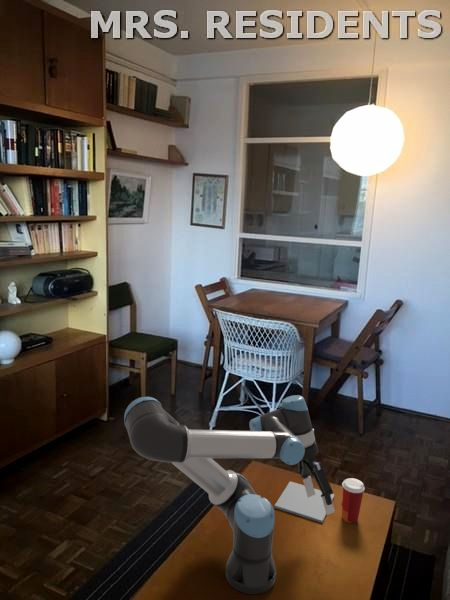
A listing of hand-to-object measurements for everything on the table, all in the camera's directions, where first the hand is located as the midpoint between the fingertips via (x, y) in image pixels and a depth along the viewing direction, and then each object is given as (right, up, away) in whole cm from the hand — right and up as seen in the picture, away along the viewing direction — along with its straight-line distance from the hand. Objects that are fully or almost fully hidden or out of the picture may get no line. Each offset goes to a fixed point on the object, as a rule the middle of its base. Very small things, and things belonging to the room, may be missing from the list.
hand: (320, 503), depth 160 cm
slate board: (-1, -10, +25) cm, 27 cm away
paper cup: (+14, -12, +17) cm, 25 cm away
